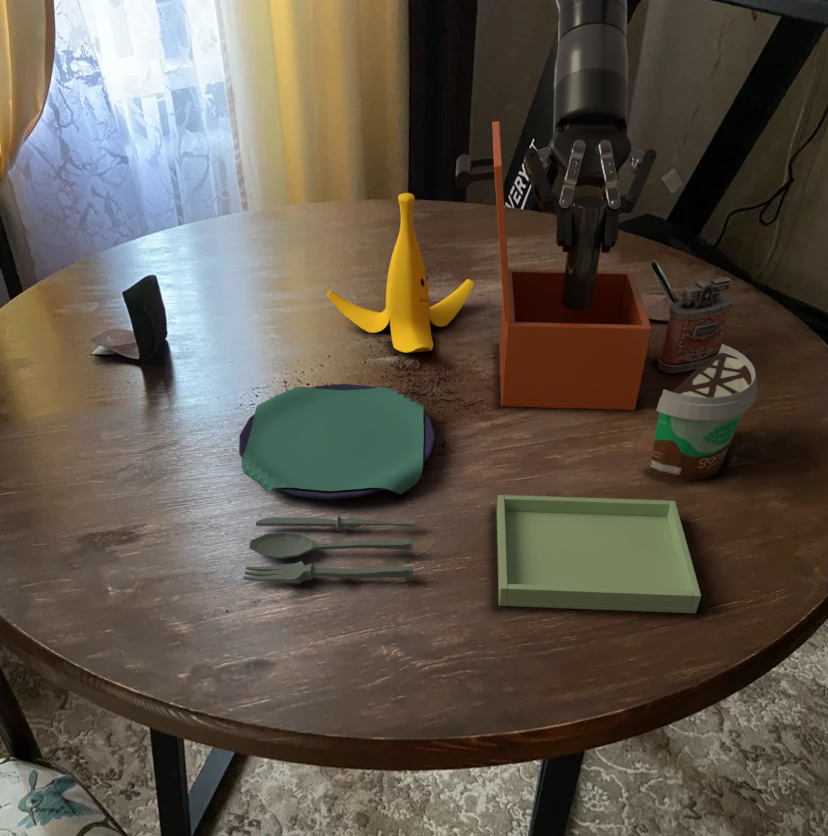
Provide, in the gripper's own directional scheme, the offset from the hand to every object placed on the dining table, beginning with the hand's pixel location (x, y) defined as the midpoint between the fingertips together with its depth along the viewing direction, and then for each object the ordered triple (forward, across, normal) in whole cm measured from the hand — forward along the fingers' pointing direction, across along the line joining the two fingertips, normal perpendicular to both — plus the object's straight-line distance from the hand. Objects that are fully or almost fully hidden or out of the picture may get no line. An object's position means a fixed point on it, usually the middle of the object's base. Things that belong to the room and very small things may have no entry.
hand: (587, 248), depth 86 cm
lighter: (+8, +14, +15) cm, 22 cm away
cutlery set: (+25, -25, -3) cm, 35 cm away
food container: (+22, +12, 0) cm, 25 cm away
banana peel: (+3, -22, +20) cm, 29 cm away
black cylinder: (+4, 0, +6) cm, 7 cm away
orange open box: (+10, -1, +12) cm, 16 cm away
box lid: (-2, -9, -1) cm, 9 cm away
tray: (+32, -1, -10) cm, 34 cm away
